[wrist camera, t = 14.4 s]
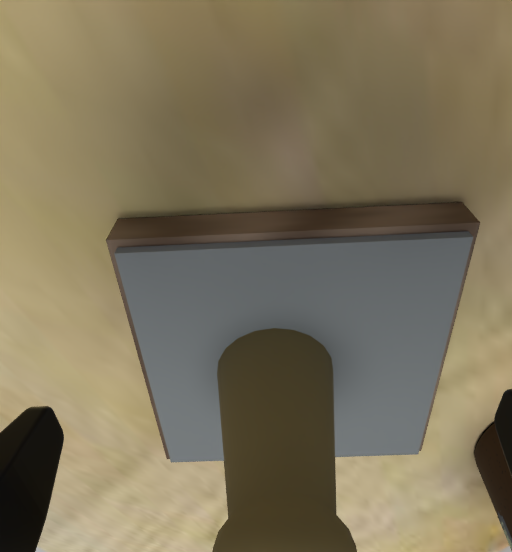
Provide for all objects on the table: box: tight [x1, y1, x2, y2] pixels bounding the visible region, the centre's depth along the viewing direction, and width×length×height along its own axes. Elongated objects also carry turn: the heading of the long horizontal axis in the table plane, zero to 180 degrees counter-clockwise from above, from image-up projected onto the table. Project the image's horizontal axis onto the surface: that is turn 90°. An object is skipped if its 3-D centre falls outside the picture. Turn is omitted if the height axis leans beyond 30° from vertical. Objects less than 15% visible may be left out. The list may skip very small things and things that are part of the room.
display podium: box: [106, 202, 480, 462], centre depth 24 cm, size 16×16×2 cm
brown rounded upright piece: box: [213, 328, 357, 552], centre depth 19 cm, size 6×6×11 cm
